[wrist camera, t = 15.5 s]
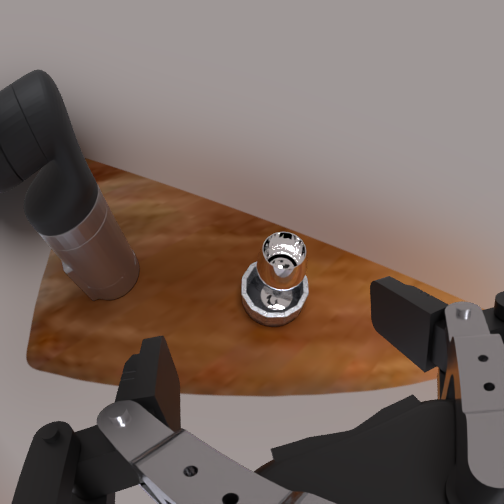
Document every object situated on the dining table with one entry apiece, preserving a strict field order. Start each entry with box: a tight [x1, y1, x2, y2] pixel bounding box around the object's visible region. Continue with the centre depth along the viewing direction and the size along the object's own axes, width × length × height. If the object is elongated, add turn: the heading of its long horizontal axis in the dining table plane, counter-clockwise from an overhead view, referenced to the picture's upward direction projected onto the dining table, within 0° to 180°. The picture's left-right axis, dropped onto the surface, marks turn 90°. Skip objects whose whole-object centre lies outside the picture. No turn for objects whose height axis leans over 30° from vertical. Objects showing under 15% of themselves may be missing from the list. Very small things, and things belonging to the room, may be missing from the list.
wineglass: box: [257, 232, 308, 311], centre depth 39 cm, size 6×6×12 cm
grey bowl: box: [242, 262, 308, 327], centre depth 43 cm, size 9×9×4 cm
